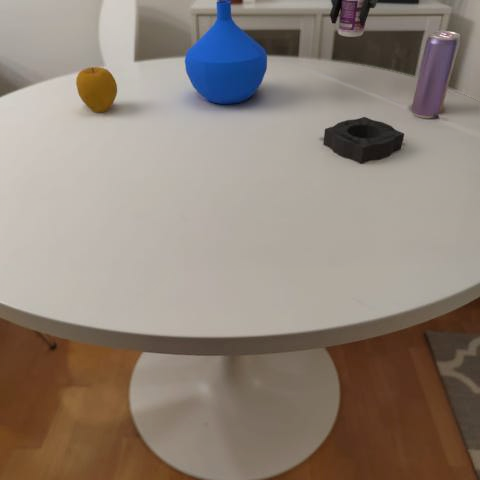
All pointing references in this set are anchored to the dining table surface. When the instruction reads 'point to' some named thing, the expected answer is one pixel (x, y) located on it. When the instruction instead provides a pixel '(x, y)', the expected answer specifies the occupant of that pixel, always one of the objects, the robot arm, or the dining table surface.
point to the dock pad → (363, 139)
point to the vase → (226, 61)
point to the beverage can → (435, 73)
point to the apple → (96, 88)
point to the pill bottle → (350, 18)
